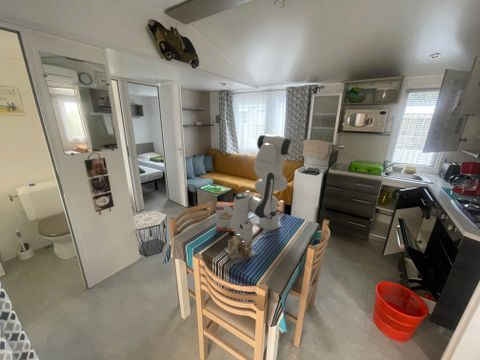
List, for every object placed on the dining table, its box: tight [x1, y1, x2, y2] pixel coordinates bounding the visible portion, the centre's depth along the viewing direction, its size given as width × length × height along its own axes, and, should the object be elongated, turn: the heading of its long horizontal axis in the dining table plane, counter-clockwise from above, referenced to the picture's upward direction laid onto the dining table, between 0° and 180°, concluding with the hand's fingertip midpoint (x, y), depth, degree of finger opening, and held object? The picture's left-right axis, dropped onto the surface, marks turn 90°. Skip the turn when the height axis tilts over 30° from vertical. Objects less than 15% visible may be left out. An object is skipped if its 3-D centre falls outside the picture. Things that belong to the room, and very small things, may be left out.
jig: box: [223, 235, 258, 264], centre depth 123 cm, size 16×15×7 cm
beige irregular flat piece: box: [227, 236, 253, 257], centre depth 123 cm, size 16×2×10 cm, turn 122°
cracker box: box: [215, 201, 234, 232], centre depth 146 cm, size 14×6×21 cm, turn 85°
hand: (240, 240), depth 122 cm, fingers open, 7 cm apart
